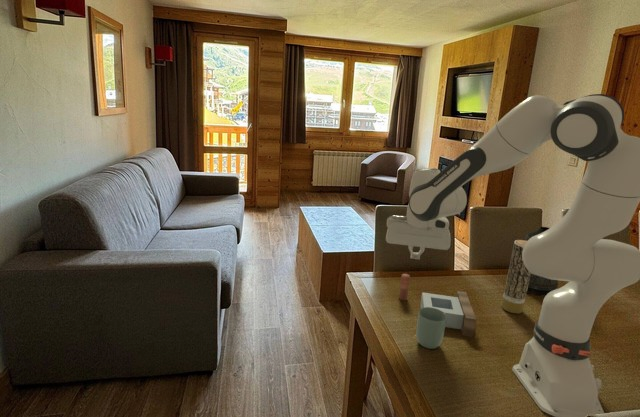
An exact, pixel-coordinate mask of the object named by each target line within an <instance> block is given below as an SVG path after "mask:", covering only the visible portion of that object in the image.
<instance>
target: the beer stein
mask: <svg viewBox="0 0 640 417" xmlns="http://www.w3.org/2000/svg"><path fill="white" fill-rule="evenodd" d="M550 228H551V227H547V226H540V227H539V228H538V229H537V230H534V231H532V232H529V233H527V234H526V235H525V241H528V240H529V239H530V238H531V237H533V236H535V235H538V234H541V233H543V232H545V231H546V230H548V229H550ZM558 281H559V280H551V279H548V278H544V277H541V276H537V275H534V274H531V275H530V280H529V284H528V289H527V293H529V294H533V295H538V296H546V295H547V294H548V293H549V292H551V291H553V290H555V289H558V287H559V282H558Z"/></svg>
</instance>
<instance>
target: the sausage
mask: <svg viewBox="0 0 640 417" xmlns="http://www.w3.org/2000/svg"><path fill="white" fill-rule="evenodd" d="M410 280H411V275H410V274H408V273H402V274H401V278H400V285H399V294H398V299H399V300H401V301H407V300H408V295H409V289H410Z"/></svg>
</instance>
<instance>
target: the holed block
mask: <svg viewBox="0 0 640 417" xmlns="http://www.w3.org/2000/svg"><path fill="white" fill-rule="evenodd" d="M419 306H420V309H422V308H424V307H431V308H436V309H438V310H441V311H442V312H444V313H445V314H446V326H445V328H449V329H450V328H451V329H456V330H461V328H462V322H463V316H464V315H463V312H462V309H461V305H460V302H459V299H458V297H456V296H450V295H444V294H437V293H436V294H435V293H429V292H422V293H421V297H420V305H419Z"/></svg>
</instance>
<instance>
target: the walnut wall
mask: <svg viewBox="0 0 640 417" xmlns="http://www.w3.org/2000/svg"><path fill="white" fill-rule="evenodd" d="M455 297H458V299H459V302H460V305H461V309H462V312H463V315H464V316H463V322H462V328H461V329H460V331H461V334H462V335H463V336H465V337H466V336H467V337H474V334H475V333H474V332H475V327H476V323H477V317H476V314H475V312H474V309H473V306H472V304H471V302H470V299H469V296H468V293H467V292H466V291H459V290H457V291H456V296H455Z"/></svg>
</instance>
